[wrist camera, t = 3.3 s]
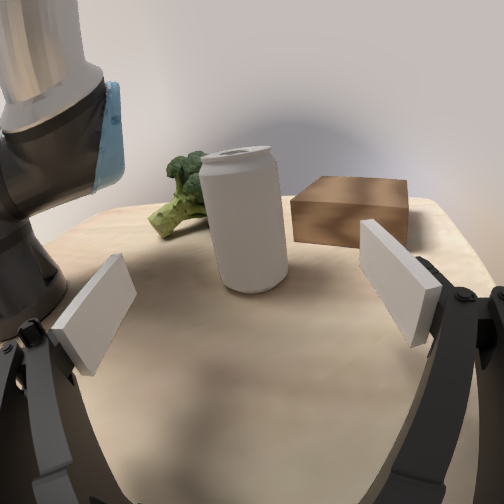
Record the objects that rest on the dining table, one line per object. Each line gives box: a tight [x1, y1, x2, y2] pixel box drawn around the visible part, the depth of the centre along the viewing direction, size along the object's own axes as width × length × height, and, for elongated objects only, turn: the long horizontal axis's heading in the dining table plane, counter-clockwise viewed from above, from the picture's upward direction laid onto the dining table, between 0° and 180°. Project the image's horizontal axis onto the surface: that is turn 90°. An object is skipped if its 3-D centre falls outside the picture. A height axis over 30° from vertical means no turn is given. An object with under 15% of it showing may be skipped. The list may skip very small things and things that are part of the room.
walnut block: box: [290, 176, 409, 248], centre depth 33 cm, size 13×13×5 cm
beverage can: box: [199, 146, 288, 294], centre depth 24 cm, size 6×6×12 cm
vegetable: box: [148, 151, 208, 239], centre depth 40 cm, size 12×13×15 cm
